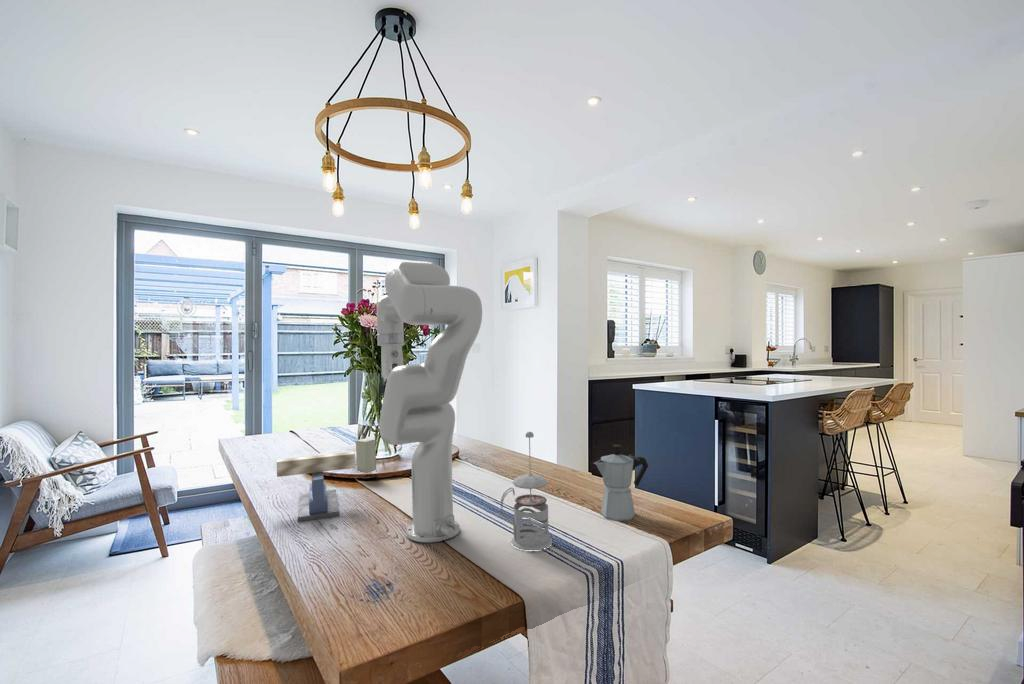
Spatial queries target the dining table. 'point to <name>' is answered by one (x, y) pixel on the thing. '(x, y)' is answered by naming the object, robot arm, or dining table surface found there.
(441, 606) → the dining table surface
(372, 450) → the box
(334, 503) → the fulcrum
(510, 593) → the dining table surface
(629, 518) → the coffee maker
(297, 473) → the beam
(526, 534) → the french press
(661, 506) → the dining table surface
